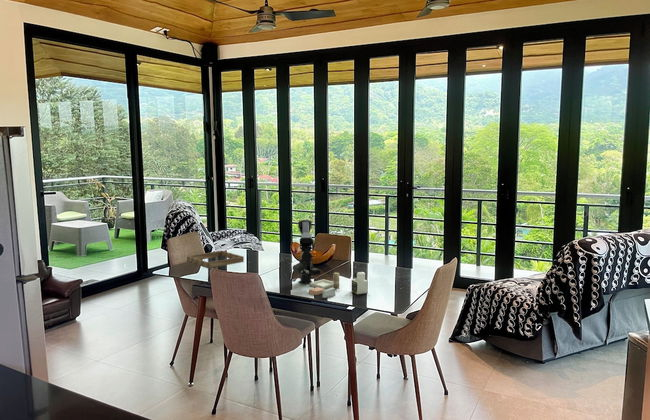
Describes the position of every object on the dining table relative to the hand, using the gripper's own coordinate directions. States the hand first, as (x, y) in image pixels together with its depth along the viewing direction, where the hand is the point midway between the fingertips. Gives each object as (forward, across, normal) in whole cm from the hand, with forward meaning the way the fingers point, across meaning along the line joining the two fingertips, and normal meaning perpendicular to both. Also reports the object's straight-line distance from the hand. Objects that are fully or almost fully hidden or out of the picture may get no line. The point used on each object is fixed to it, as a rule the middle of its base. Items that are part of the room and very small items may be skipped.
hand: (306, 283), depth 293 cm
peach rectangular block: (+4, +9, 0) cm, 10 cm away
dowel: (+4, +10, +15) cm, 18 cm away
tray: (+4, +1, +13) cm, 13 cm away
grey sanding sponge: (+4, +19, 0) cm, 19 cm away
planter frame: (+4, -100, 0) cm, 100 cm away
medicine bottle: (+4, +25, +19) cm, 32 cm away
